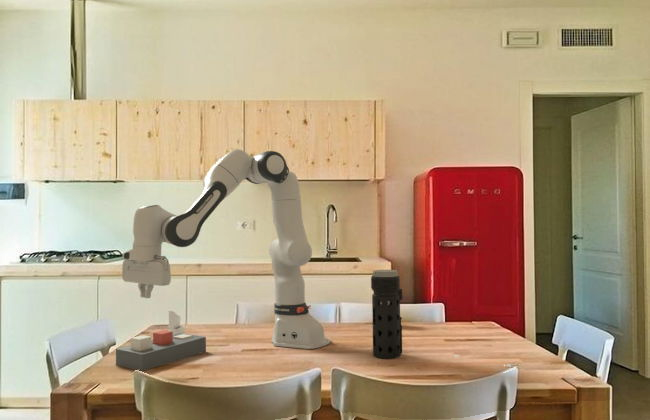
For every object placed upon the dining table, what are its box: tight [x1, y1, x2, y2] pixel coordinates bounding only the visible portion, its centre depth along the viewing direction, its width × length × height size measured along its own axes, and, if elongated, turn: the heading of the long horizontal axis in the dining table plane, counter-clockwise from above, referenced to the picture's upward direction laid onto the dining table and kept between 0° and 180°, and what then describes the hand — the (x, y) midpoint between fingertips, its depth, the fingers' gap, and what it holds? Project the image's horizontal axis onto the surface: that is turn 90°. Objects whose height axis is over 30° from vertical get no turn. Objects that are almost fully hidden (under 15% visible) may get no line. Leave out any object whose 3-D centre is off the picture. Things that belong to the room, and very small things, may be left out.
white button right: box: [173, 333, 193, 340], centre depth 172 cm, size 4×4×5 cm
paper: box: [453, 354, 521, 369], centre depth 154 cm, size 25×17×1 cm
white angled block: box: [168, 310, 186, 335], centre depth 196 cm, size 4×10×9 cm
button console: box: [115, 333, 207, 372], centre depth 164 cm, size 13×26×5 cm, turn 148°
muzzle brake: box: [370, 269, 403, 360], centre depth 165 cm, size 10×28×10 cm
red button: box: [152, 329, 173, 345], centre depth 164 cm, size 4×4×5 cm
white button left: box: [130, 334, 152, 351], centre depth 157 cm, size 4×4×5 cm
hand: (145, 297), depth 160 cm, fingers closed
